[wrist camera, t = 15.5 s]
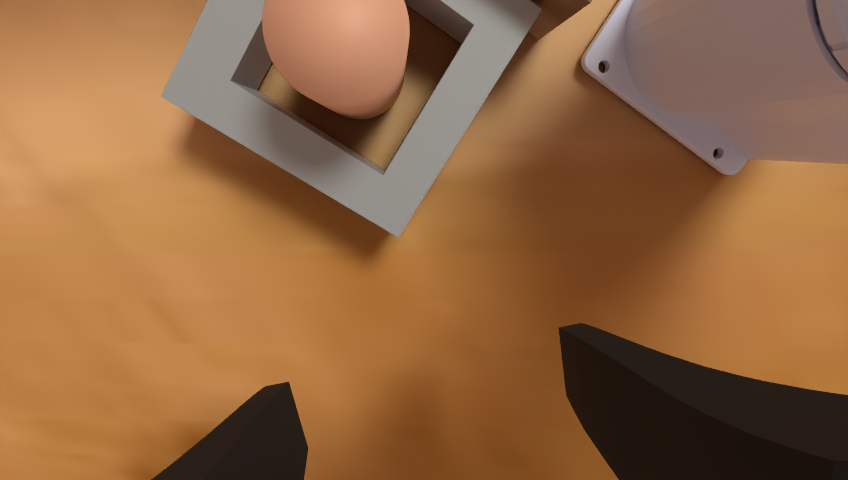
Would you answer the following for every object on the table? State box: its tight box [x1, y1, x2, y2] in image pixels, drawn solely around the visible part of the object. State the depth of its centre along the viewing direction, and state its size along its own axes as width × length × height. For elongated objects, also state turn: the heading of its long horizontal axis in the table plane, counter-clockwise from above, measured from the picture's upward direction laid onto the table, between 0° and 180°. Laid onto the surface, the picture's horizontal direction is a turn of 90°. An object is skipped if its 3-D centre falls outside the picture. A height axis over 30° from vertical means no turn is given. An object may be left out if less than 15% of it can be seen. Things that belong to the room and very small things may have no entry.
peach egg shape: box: [262, 0, 410, 119], centre depth 15 cm, size 4×4×7 cm
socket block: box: [161, 0, 542, 238], centre depth 17 cm, size 10×10×3 cm
